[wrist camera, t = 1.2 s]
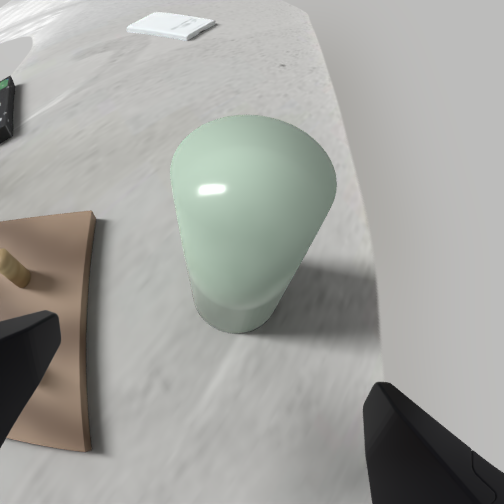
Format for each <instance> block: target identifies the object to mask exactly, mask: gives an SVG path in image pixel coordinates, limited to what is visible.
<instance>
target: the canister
mask: <svg viewBox="0 0 504 504" xmlns="http://www.w3.org/2000/svg"><path fill="white" fill-rule="evenodd" d="M170 178H171V185H172V191H173V197H174V203H175V209H176V214H177V220H178V225H179V231H180V236H181V241H182V246H183V252H184V257H185V261H186V266H187V271H188V276H189V281H190V285H191V290H192V295H193V299H194V303H195V306H196V309H197V311H198V312H199V314H200V316H201V317H202V318H203V319H204V320H205V321H206V322H207V323H208V324H209V325H211V326H212V327H214V328H216V329H217V330H220V331H223V332H227V333H234V334H237V333H246V332H249V331H252V330H255V329H257V328H258V327H260V326H261V325H263V324H264V323H265V322H266V321H267V320H268V319H269V318H270V316H271V315H272V313H273V312H274V310H275V308H276V306H277V305H278V303H279V301H280V299H281V298H282V296H283V294H284V292H285V291H286V289H287V287H288V285H289V283H290V282H291V280H292V278H293V276H294V275H295V273H296V271H297V269H298V267H299V266H300V264H301V262H302V260H303V258H304V256H305V255H306V253H307V251H308V249H309V247H310V245H311V244H312V242H313V240H314V238H315V236H316V234H317V232H318V231H319V229H320V227H321V225H322V223H323V221H324V219H325V217H326V216H327V214H328V212H329V210H330V208H331V206H332V204H333V201H334V198H335V194H336V187H337V182H336V174H335V170H334V167H333V165H332V162H331V160H330V158H329V157H328V155H327V153H326V152H325V151H324V149H323V148H322V147H321V146H320V145H319V144H318V143H317V142H316V141H315V140H314V139H313V138H312V137H311V136H309V135H308V134H307V133H305V132H304V131H302V130H301V129H299V128H297V127H295V126H293V125H291V124H289V123H286V122H284V121H281V120H278V119H274V118H270V117H265V116H258V115H236V116H228V117H224V118H220V119H217V120H214V121H211V122H208V123H206V124H204V125H202V126H200V127H199V128H197V129H196V130H194V131H193V132H192V133H190V134H189V135H188V136H187V137H186V138H185V139H184V140H183V141H182V142H181V144H180V145H179V147H178V148H177V150H176V152H175V154H174V156H173V159H172V162H171V169H170Z"/></svg>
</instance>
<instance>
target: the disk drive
mask: <svg viewBox="0 0 504 504" xmlns="http://www.w3.org/2000/svg"><path fill="white" fill-rule="evenodd" d="M14 94H15V85H14V83H13V80H12V78H11V76H9V77H7V78H5V79H4V80H2V81H0V143H2V142H4V141H5V140H7V139H9V138H11V137H12V136H13V135H12V131H13V103H14Z"/></svg>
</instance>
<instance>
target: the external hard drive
mask: <svg viewBox="0 0 504 504" xmlns="http://www.w3.org/2000/svg"><path fill="white" fill-rule="evenodd" d="M213 25H215V20H209V19H204V18H198V17H192V16H186V15H179V14H172V13H163V12H154V13H152V14H150V15H148V16H146V17H144V18H142V19H140V20H138V21H136V22H135V23H133V24H131V25H129V26H128V27H127V32H132V33H140V34H148V35H155V36H161V37H167V38H173V39H179V40H184V41H188V40H189V39H191V38H193V37H194V36H196V35H198V34H199V33H200V32H201V31H204V30H206V29H208V28H210V27H212V26H213Z"/></svg>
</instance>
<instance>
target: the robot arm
mask: <svg viewBox="0 0 504 504" xmlns="http://www.w3.org/2000/svg"><path fill="white" fill-rule="evenodd" d="M60 344H61V330H60V322H59V317H58V315H57V314H56V313H54V312H51V311H48V310H43V311H39V312H35V313H31V314H27V315H23V316H19V317H15V318H12V319H8V320H4V321H0V448H1V446H2V444H3V443H4V441H5V439H6V437H7V436H8V434H9V432H10V431H11V429H12V427H13V425H14V424H15V422H16V420H17V419H18V417H19V416H20V414H21V412H22V411H23V409H24V407H25V406H26V404H27V403H28V401H29V399H30V398H31V396H32V395H33V393H34V392H35V390H36V389H37V387H38V385H39V384H40V382H41V380H42V378H43V376H44V374H45V373H46V371H47V369H48V367H49V365H50V363H51V361H52V359H53V357H54V355H55V354H56V352H57V350H58V348H59V346H60ZM363 421H364V439H365V455H366V463H367V469H368V475H369V482H370V489H371V496H372V504H504V473H503V472H501V471H500V470H498V469H497V468H495V467H494V466H493V465H491V464H490V463H489V462H487V461H486V460H485V459H483V458H482V457H481V456H480V455H478V454H477V453H476V452H474V451H471V448H470V447H468V446H467V445H466V444H465V443H463V442H462V441H461V440H460V439H458V438H457V437H456V436H454V435H453V434H452V433H451V432H450V431H448V430H447V429H446V428H445V427H443V426H442V425H441V424H440V423H439V422H437V421H436V420H435V419H434V418H432V417H431V416H430V415H429V414H427V413H426V412H425V411H424V410H422V409H421V408H420V407H419V406H418V405H416V404H415V403H414V402H413V401H412V400H410V399H409V398H408V397H407V396H405V395H404V394H403V393H402V392H401V391H399V390H398V389H397V388H396V387H395V386H393V385H392V384H391V383H388V382H376V383H375V384H374V386H373V387H372V389H371V391H370V393H369V395H368V397H367V399H366V401H365V403H364V405H363Z"/></svg>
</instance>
